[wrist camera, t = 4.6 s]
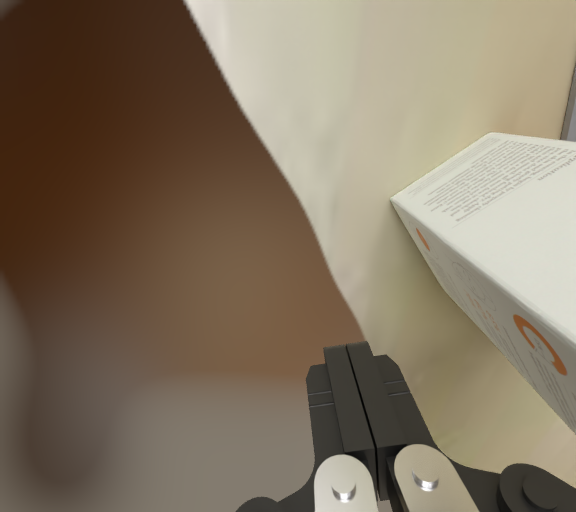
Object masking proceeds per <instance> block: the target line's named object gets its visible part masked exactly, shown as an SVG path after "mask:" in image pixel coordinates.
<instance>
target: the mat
mask: <svg viewBox="0 0 576 512" xmlns="http://www.w3.org/2000/svg"><path fill="white" fill-rule="evenodd" d="M561 140H563V141H571V142H576V66H575V71H574V76H573V81H572V86H571V91H570V96H569V100H568V105H567V110H566V115H565V120H564V125H563V130H562V135H561Z"/></svg>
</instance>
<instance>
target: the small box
mask: <svg viewBox="0 0 576 512" xmlns="http://www.w3.org/2000/svg"><path fill="white" fill-rule="evenodd" d="M390 201H391V203H392V205H393V206H394V208H395V210H396V212H397V213H398V215H399V217H400V219H401V220H402V222H403V224H404V225H405V227H406V229H407V230H408V232H409V234H410V236H411V237H412V239H413V241H414V242H415V244H416V246H417V247H418V249H419V251H420V252H421V254H422V256H423V257H424V259H425V261H426V262H427V264H428V266H429V267H430V269H431V271H432V272H433V274H434V275H435V277H436V279H437V280H438V282H439V284H440V285H441V287H442V288H443V290H444V291H445V292H446V293H447V294H448V295H449V296H450V297H451V298H452V299H453V301H454V302H455V303H456V304H457V305H458V306H459V307H460V308H461V309H462V310H463V311H464V312H465V313H466V315H467V316H468V317H469V318H470V319H471V320H472V321H473V322H474V323H475V324H476V325H477V326H478V327H479V328H480V329H481V330H482V331H483V333H484V334H485V335H486V336H487V337H488V338H489V339H490V340H491V341H492V342H493V344H494V345H495V346H496V347H497V348H498V349H499V350H500V351H501V352H502V354H503V355H504V356H505V357H506V358H507V359H508V360H509V361H510V363H511V364H512V365H513V366H514V367H515V368H516V369H517V370H518V372H519V373H520V374H521V375H522V376H523V377H524V378H525V379H526V380H527V382H528V383H529V384H530V385H531V386H532V387H533V388H534V389H535V390H536V392H537V393H538V394H539V395H540V396H541V397H542V398H543V399H544V400H545V401H546V403H547V404H548V405H549V406H550V407H551V408H552V409H553V410H554V411H555V412H556V413H557V415H558V416H559V417H560V418H561V419H562V420H563V421H564V422H565V423H566V424H567V425H568V427H569V428H570V429H571V430H572V431H573V432H574V433H575V434H576V142H571V141H563V140H556V139H547V138H539V137H529V136H522V135H514V134H506V133H498V132H490V133H488V134H486V135H484V136H483V137H481V138H480V139H478V140H477V141H475V142H474V143H472V144H471V145H469V146H468V147H466V148H465V149H463V150H462V151H460V152H459V153H457V154H456V155H454V156H453V157H451V158H450V159H448V160H447V161H445V162H444V163H442V164H441V165H439V166H438V167H436V168H435V169H433V170H432V171H430V172H428V173H427V174H425V175H424V176H422V177H421V178H419V179H418V180H416V181H415V182H413V183H412V184H410V185H409V186H407V187H406V188H405V189H403V190H402V191H400V192H399V193H397V194H395V195H394V196H392V197H391V198H390Z"/></svg>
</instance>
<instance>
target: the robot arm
mask: <svg viewBox="0 0 576 512" xmlns="http://www.w3.org/2000/svg"><path fill="white" fill-rule="evenodd" d="M323 349H324V357H325V364H320V365H313V366H311V367H310V369H309V372H308V375H307V378H306V383H307V392H308V401H309V410H310V418H311V427H312V436H313V445H314V453H315V464H314V469H313V472H312V474H311V476H310V478H309V480H308V482H307V483H306V484H305V485H304V486H303V487H302V488H301V489H300V490H298V491H297V492H295V493H293V494H292V495H290V496H288V497H286V498H284V499H283V500H281V501H279V502H276V501H274V500H272V499H270V498H267V497H257V498H253V499H251V500H249V501H247V502H245V503H244V504H243V505H241V507H239V509H238V510H237V511H236V512H378V505H377V501H378V497H377V491H378V494H379V498H380V501H383V500H390V504H391V507H392V511H393V512H576V489H575V488H574V487H572V486H570V485H569V484H567V483H565V482H564V481H562V480H560V479H559V478H557V477H555V476H554V475H552V474H550V473H549V472H547V471H545V470H543V469H541V468H538V467H536V466H533V465H529V464H513V465H510V466H508V467H506V468H505V469H504V470H503V472H502V473H501V474H498V473H493V472H488V471H483V470H478V469H473V468H469V467H465V466H463V465H460V464H458V463H456V462H454V461H453V460H451V459H450V458H448V457H447V456H446V455H445V454H444V453H443V452H442V451H441V450H440V449H439V448H438V447H437V445H436V444H435V443H434V441H433V439H432V437H431V435H430V433H429V430H428V428H427V426H426V424H425V422H424V420H423V418H422V416H421V413H420V411H419V409H418V407H417V405H416V403H415V401H414V398H413V396H412V394H411V393H410V390H409V388H408V386H407V384H406V382H405V380H404V377H403V375H402V373H401V371H400V369H399V367H398V365H397V364H396V363H395V362H394V361H393V360H392V359H390V358H389V357H388V356H387V355H380V356H373V354H372V351H371V349H370V346H369V344H368V342H367V341H364V342H358V343H350V344H346V348H345V345H339V346H332V347H325V348H323Z"/></svg>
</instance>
